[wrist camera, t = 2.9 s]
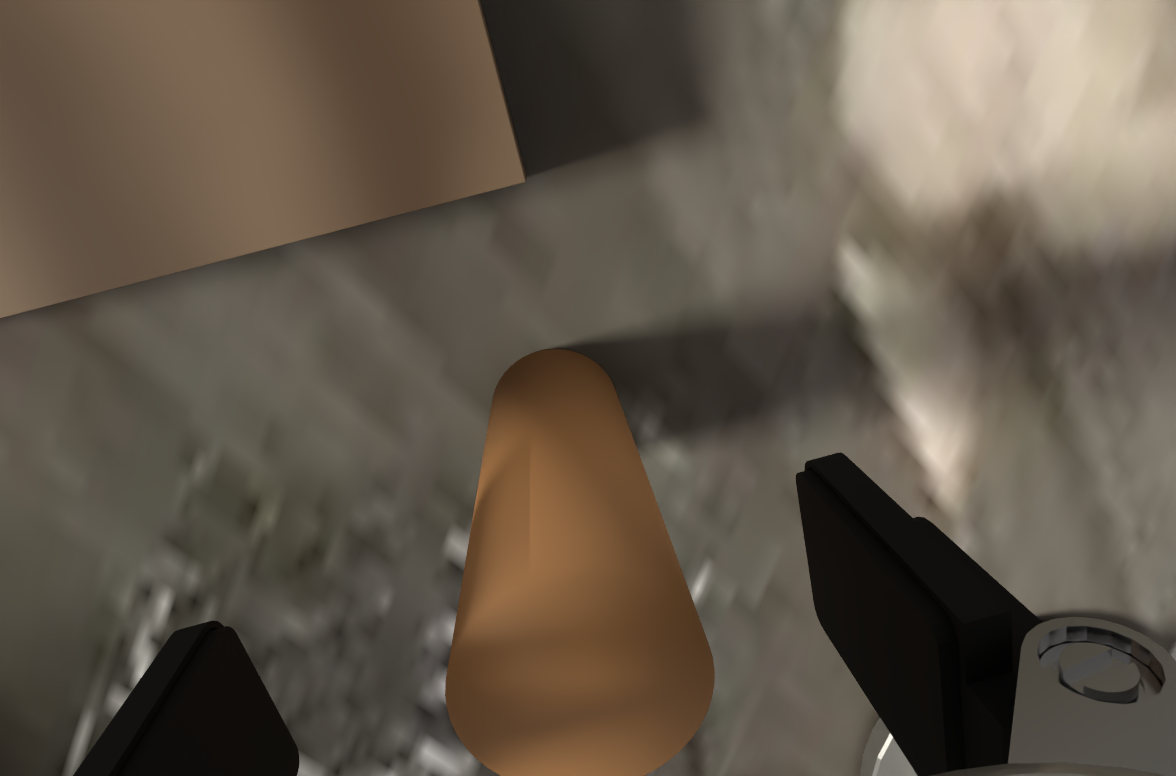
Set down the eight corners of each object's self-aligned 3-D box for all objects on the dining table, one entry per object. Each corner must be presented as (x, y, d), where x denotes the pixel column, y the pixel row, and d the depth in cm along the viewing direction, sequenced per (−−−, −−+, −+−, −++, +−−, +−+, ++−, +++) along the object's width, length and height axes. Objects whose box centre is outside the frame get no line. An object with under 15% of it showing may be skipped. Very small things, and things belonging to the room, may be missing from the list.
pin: (602, 334, 21) (687, 542, 9) (630, 450, 22) (734, 756, 11) (475, 367, 21) (408, 614, 9) (511, 481, 22) (490, 819, 11)
